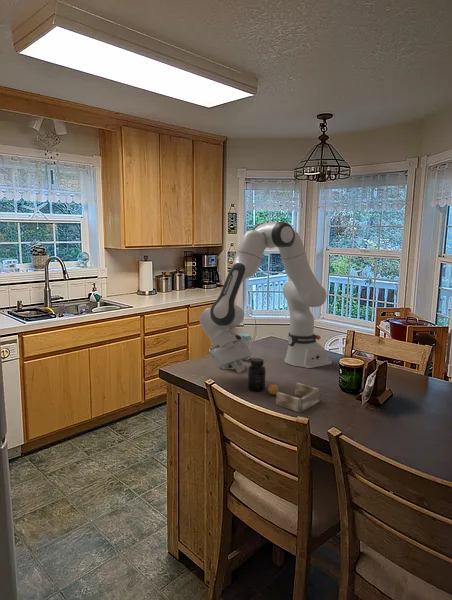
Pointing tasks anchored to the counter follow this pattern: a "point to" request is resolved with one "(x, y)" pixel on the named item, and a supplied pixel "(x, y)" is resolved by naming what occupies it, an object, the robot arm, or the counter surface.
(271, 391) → the ball
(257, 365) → the supplement bottle
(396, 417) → the counter surface
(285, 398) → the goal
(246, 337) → the teal lidded jar
